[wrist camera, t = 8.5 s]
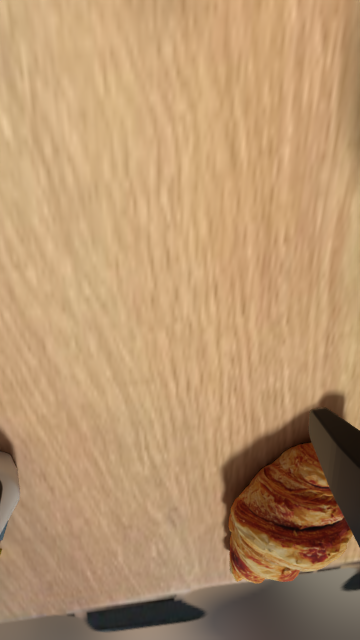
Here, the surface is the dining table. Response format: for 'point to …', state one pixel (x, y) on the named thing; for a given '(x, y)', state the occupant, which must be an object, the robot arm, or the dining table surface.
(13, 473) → the salt shaker
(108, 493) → the dining table surface
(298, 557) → the croissant
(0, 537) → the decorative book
